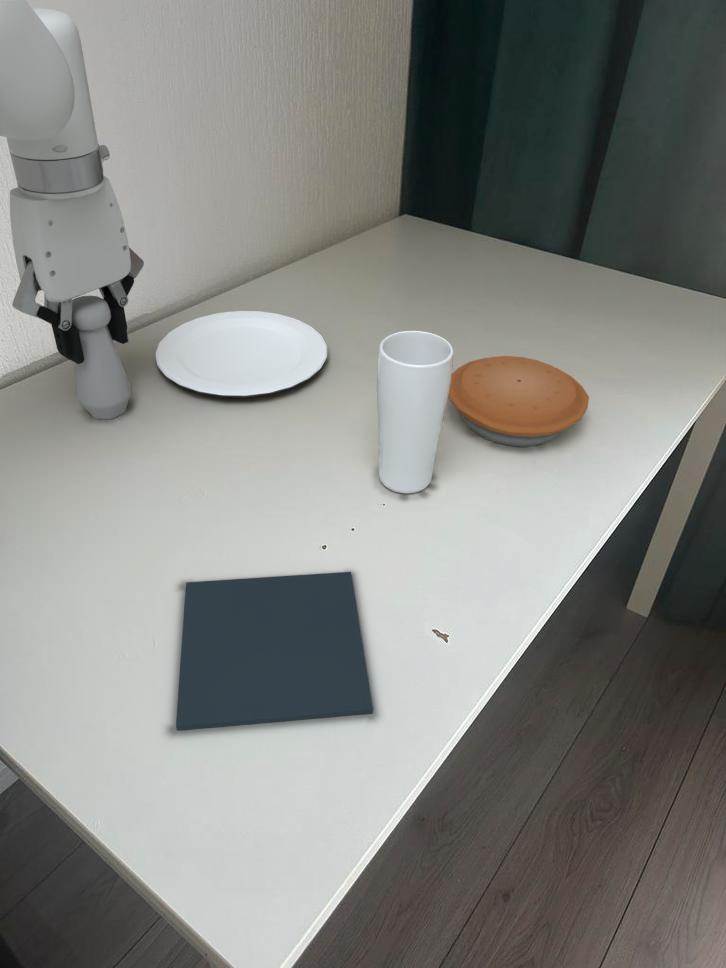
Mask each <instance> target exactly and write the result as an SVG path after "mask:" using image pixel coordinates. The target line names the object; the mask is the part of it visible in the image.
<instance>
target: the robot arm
mask: <svg viewBox="0 0 726 968" xmlns="http://www.w3.org/2000/svg"><path fill="white" fill-rule="evenodd" d="M79 31H80V30H79V29H78V26H77V24H76V22H75V20H74V19H73V18H72V17H71V16H69V15H68V14H67V13H65V12H62V11H59V10H57V9H51V8H44V7H43V8H41V7H32V6H31V5H30V4H29V3H28V1H27V0H0V137H4V138H6V142H7V147H8V150H9V155H10V160H11V163H12V168H13V173H14V176H15V180H16V185H17V187H15V188H12V189H10V190H9V219H10V230H11V238H12V243H13V251H14V256H15V262H16V266H17V272H18V275H19V280H20V282H19V284H18V287H17V290H16V291H15V295H14V297H13V300H12V307H13V309H15V310H16V311H19V312H21V313H23V314H26V315H28V316H32V317H34V318H38V319H41V320H42V321H44V322H46V323H48V324H50V325H51V329H52V334H53V337H54V343H55V346H56V349H57V352H58V353H59V354H60V355H61V356H62V357H64V358H66V359H67V360H70V361H71V362H73V363H74V364H75V363H77V364H80V363H83V362H84V354H83V350H82V345H81V340H80V336H79V331H78V329H77V327H75V326H73V325H71V322H72V300H73V299H75V298H77V297H81V296H84V295H85V294H88V293H91V292H94V291H96V290H99V293H100V294H101V298H102V299H104V300H105V301H106V302H107V304H108V306H109V309H110V314H111V319H110V321H109V323H108V324H107V327H108V329H109V332H110V335H111V337H112V340H113V341H115V342H117V343H119V344H121V345H125V344H128V343H129V335H128V331H127V330H128V324H127V318H126V317H127V316H126V312H125V307H127V305H128V304H129V298H128V295H129V294H130V292H131V290H132V288H133V286H134V284H135V279H136V278H137V277H138V276H139V274H140V272H141V271H142V270H143V268H144V266H145V262H144V259H142V258H141V257H140V256H139V255H138V254H137V253H136V252H135V251H134V250H133V249H132V248H131V247H130V246H129V241H128V240H129V239H128V234H127V230H126V227H125V223H124V218H123V215H122V211H121V209H120V205H119V202H118V199H117V196H116V193H115V190H114V187H113V186H112V183H111V181H110V179H109V178H108V177H107V176H105V175H104V167H103V162H104V161H108V160H109V159H110V155H111V153H110V151H109V148H108V147H107V146H106V145H105V144H101V145H100V144H99V141H98V135H97V130H96V122H95V117H94V112H93V105H92V99H91V93H90V88H89V82H88V75H87V69H86V63H85V58H84V51H83V46H82V41H81V36H80V32H79ZM40 291H43V294H44V297H43V299H44V300H43V304H40V303H38V302H37V301H36V298H37V296H38V293H39V292H40Z"/></svg>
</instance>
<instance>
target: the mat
mask: <svg viewBox="0 0 726 968" xmlns="http://www.w3.org/2000/svg"><path fill="white" fill-rule="evenodd" d="M183 607H184V608H183V620H182V621H183V623H182V635H181V648H180V665H179V666H180V667H179V675H178V676H179V677H178V678H179V679H178V692H177V705H176V724H175V728H176V731H187V730H188V731H189V730H197V729H198V730H200V729H209V728H222V727H231V726H233V727H234V726H243V725H245V726H246V725H256V724H268V723H277V722H279V723H280V722H290V721H291V722H292V721H301V720H302V721H303V720H314V719H322V718H325V719H326V718H333V717H334V718H335V717H346V716H347V717H348V716H356V715H357V716H358V715H370V714H373V712H374V711H373V710H374V709H373V702H372V696H371V695H372V694H371V689H370V683H369V676H368V671H367V664H366V658H365V652H364V646H363V639H362V633H361V627H360V620H359V615H358V614H359V613H358V608H357V601H356V596H355V588H354V584H353V577H352V572H351V571H342V572H327V573H312V574H310V573H309V574H295V575H279V576H263V577H247V578H237V579H236V578H233V579H218V580H217V579H215V580H202V581H188V582H187V581H186V582H185V593H184V605H183Z"/></svg>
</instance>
